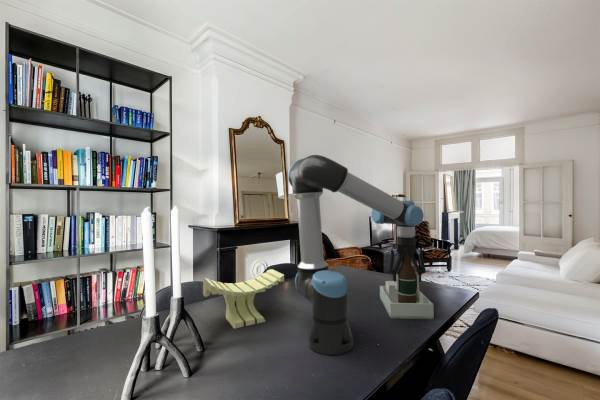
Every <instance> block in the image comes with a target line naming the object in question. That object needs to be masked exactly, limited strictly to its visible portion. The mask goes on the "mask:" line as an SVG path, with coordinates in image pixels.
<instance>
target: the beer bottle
mask: <svg viewBox="0 0 600 400" xmlns="http://www.w3.org/2000/svg"><path fill="white" fill-rule="evenodd" d="M404 250H405V251H406V253H405V255H404V258H403V260H402V261H401V266H400V267H399V269H398V271H397V274H398V284H399V290H398V303H416V301H417V294H416V273H417V272H416V270H415V268H414V267H413V266H412V265H413V264H412V260H411V258H410V254H409V250H410V248H404Z"/></svg>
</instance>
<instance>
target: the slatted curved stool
mask: <svg viewBox="0 0 600 400" xmlns="http://www.w3.org/2000/svg"><path fill="white" fill-rule="evenodd" d="M282 282H283V283H284V282H285V274H284V273H281V272H279V271H277V270H275V269H273V268H272V269H268V270H266V272H263V273H261V274H260V275H257V276H255V277H254V278H251V279H249V280H245V281H240V282H235V283H228V282H224V283H223V282H221V281H215V280H213V279H209V278H206V277H204V278H203V279H202V295H203V297H205V298H206V297H209V296H211V295H212V296H213V295H219V296H220V295H221V296H223V298H224V300H225V306H226V310H225V319H226V320H227V322H228V323H229V324H230V326H231V327H232V328H233V329H235V330H236V329H238V328H242V327H243V328H244V327H247V326H253V325H255V324H261V323H265V322H266V320H265V318H264V316H263V315H261V313H260V312H259V311H258V310H257V309H256V306H255V304H254V299H255V297H256V296H255V295H256V294H258V293H263V292H266V291H267V290H266V289H272V288H273V287H274V286H278V285H279V283H282Z"/></svg>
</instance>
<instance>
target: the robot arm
mask: <svg viewBox="0 0 600 400" xmlns="http://www.w3.org/2000/svg"><path fill="white" fill-rule="evenodd" d="M348 169H349V168H348V167H346V166H344V165H342V164H340V163H338V162H336V161H334V160H333V159H331V158H328V157H327V156H324V155H319V154H311V155H309V156H308V155H307V156H306V157H304V158H300V159H298V160H297V161H295V162H294V163H293V164H291V166H290V168H289V169H288V172H287V180H288V182H289V184H290V186H291V187H292V188H291V189H292V191H291V192H292V196H293V197H294V198H295V199H296V204H297V205H296V206H297V218H298V221H297V222H298V230H299V231H298V234H299V235H298V236H299V248H300V262H299V263H298V264H297V273H296V275H295V278H294V279H295V280H294V285H295V288H296V289H297V291H298V293H299V295H301V296H302V297H303V298H304V299H306V300H307V301H308V302H310V303H311V304H312V323H311V325H310V329H309V333H308V335H307V344H308V347H309V348H310V349H311V350H312V351H314V352H316V353H318V354H322V355H327V356H330V355H331V356H337V355H342V354H346V353H348V352H350V351H351V350H352V349H353V348H354V337H353V334H352V331H351V327H350V325H349V322H348V290H349V289H348V283H347V282H348V281H347V278H346V277H345V276H344V274H342V273H341V272H338V271H333V270H329V265H328V262H327V261H325V260H324V251H323V250H324V249H323V247H324V246H323V235H322V233H323V231H322V218H321V202H320V198H321V196H322V195H323V194H324V189H325V190H328V191H331V192H332V193H337V192H339V193H340V194H341V195H342V194H343V195H345V196H347V197H349V198H350V199H353V200H354V201H356V202H358V203H360V204H362V205H364V206H366V207H368V208H370V209H371V212H370V213H371V215H370V216H371V219H372V222H373V223H374V224H379V225H383V224H389V225H396V236H397V237H396V247H395V248H393V249H392V248H390V249H389V254H390V256H389V262H388V269H387V271H388V272H389V273H390V274H392V281H394V282H395V288H396V289H397V290H399V284H398V272H399V269H400V267H401V266H400V265H402V260H403V258H404V255H405V253H406V251H405V250H404V248H410V250H409V254H410V258H411V264H412V265H413V266H414V267H413V268H414V270H415V273H416V289H417V290H419V291H420V283H421V282H422V275H423V274H425V273H426V272H427V271H426V266H425V261H424V250H423V249H421V248H420V249H418V248H417V247H416V237H415V236H416V227H417V226H418V225H421V223H422V221H423V220H424V210H423V209H422V208H421V207H420V206H418V205H415V202H414V201H413V200H400V199H397V198H396V197H394V196H392V195H390V194H389V193H387V192H385V191H383V190H382V189H380V188H377V187H376V186H374V185H372V184H371V183H369V182H367V181H365V180H363V179H362V178H360V177H358V176H355V174H352V173H350V172H349V170H348ZM396 253H397V254H398V256H397V260H396V262H395V263H394V260H395V255H396ZM415 254H417V256H418V260H419V263H418V262H417V260H416V257H415V256H414V255H415ZM418 264H419V265H418Z"/></svg>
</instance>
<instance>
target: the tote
mask: <svg viewBox="0 0 600 400" xmlns="http://www.w3.org/2000/svg"><path fill="white" fill-rule="evenodd" d="M416 294H417V301H416V303H392V302H391V301H390V299H389V297H388V296H387V294H386V285H379V298H380V300H381V303H382V304H383V307H384V308H385V310H386V313H387V314H388V317H389V318H390V319H404V320H405V319H406V320H407V319H410V320H416V319H417V320H434V319H435V317H434V314H435V313H434V303H433V302H431V300H429V298H427V296H426V295H425V294H424V293H423V292H421V290H420V289H419V290H417V289H416Z"/></svg>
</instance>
